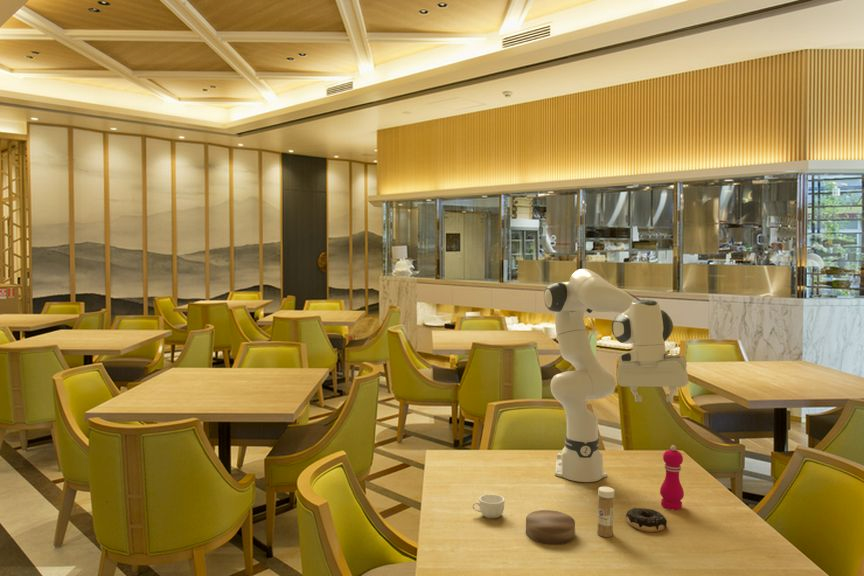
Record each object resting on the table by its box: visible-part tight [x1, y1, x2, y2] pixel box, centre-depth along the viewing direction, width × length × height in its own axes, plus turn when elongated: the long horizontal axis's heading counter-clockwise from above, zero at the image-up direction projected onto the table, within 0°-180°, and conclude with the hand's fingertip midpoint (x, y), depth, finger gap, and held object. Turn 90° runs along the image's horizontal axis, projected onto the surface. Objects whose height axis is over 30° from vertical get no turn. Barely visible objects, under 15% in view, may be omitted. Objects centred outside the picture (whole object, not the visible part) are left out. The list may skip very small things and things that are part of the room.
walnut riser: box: [525, 509, 576, 546], centre depth 184 cm, size 14×14×4 cm
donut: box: [625, 507, 668, 533], centre depth 190 cm, size 11×12×4 cm
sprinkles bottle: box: [596, 486, 615, 538], centre depth 183 cm, size 5×5×13 cm
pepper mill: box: [659, 444, 685, 511], centre depth 204 cm, size 7×7×20 cm
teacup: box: [472, 493, 506, 520], centre depth 196 cm, size 10×8×5 cm
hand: (654, 402), depth 185 cm, fingers open, 8 cm apart
